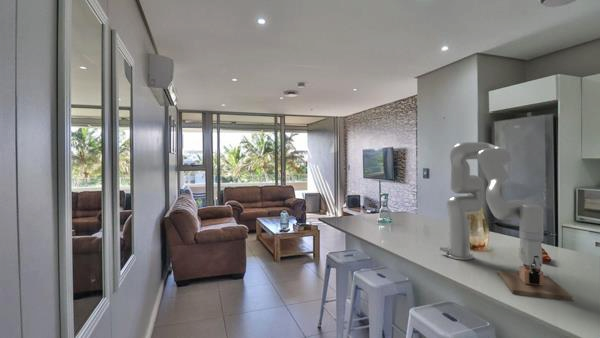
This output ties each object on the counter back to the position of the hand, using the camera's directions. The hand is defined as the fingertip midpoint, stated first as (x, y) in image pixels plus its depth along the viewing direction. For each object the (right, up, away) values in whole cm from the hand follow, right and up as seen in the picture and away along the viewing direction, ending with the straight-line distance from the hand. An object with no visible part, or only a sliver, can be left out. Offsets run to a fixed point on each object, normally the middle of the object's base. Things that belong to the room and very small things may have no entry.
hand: (531, 279), depth 118 cm
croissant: (+27, -1, +33) cm, 43 cm away
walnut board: (0, -2, 0) cm, 2 cm away
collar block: (0, -1, 0) cm, 1 cm away
